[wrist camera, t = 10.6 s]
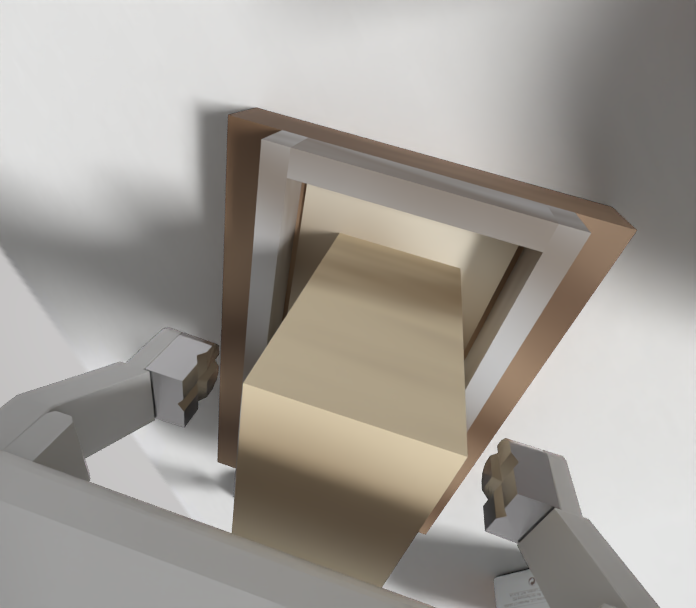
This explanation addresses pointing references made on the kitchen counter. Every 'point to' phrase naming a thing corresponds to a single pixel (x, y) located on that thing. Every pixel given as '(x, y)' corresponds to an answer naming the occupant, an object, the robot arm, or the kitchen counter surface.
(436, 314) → the birch finger
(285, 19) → the kitchen counter surface
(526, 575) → the small box
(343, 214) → the rail board
